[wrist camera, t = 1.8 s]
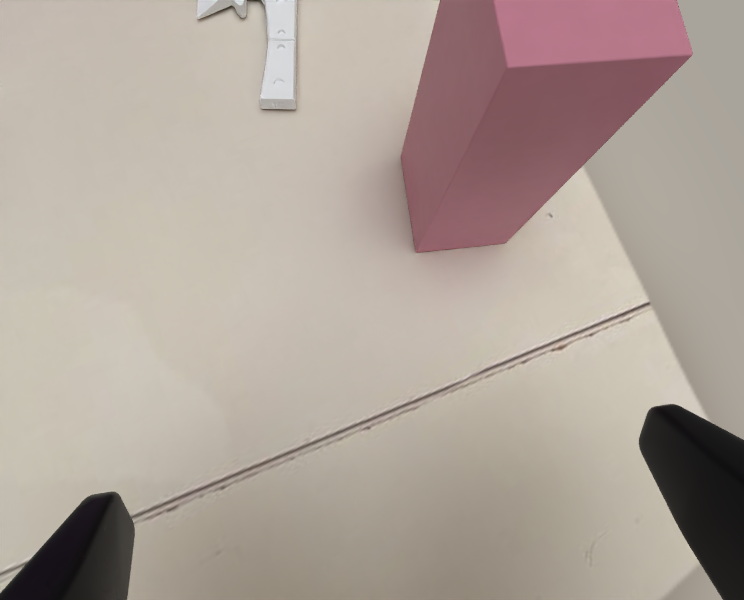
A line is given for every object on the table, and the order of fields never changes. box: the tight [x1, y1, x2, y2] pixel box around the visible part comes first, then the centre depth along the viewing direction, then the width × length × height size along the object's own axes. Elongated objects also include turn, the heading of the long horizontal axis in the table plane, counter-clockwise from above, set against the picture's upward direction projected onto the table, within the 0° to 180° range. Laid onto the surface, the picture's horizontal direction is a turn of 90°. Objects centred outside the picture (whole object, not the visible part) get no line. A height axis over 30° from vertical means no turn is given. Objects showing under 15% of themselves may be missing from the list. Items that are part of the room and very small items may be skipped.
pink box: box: [401, 0, 693, 253], centre depth 18 cm, size 5×4×13 cm
